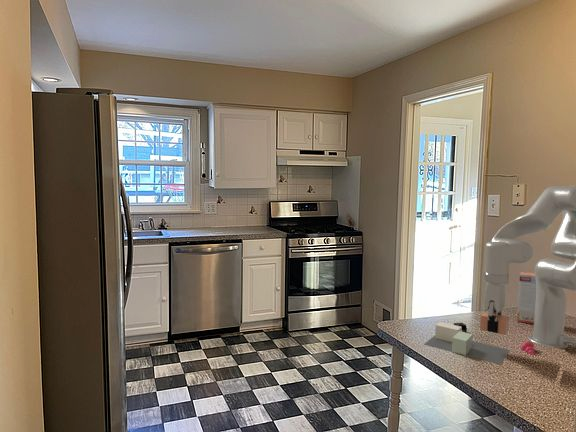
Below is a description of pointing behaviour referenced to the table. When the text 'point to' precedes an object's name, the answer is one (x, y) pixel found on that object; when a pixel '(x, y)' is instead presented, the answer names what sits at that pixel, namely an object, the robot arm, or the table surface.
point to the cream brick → (446, 331)
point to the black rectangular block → (462, 326)
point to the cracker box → (526, 298)
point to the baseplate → (474, 350)
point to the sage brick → (462, 343)
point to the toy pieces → (528, 347)
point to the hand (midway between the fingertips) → (494, 329)
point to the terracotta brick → (502, 323)
